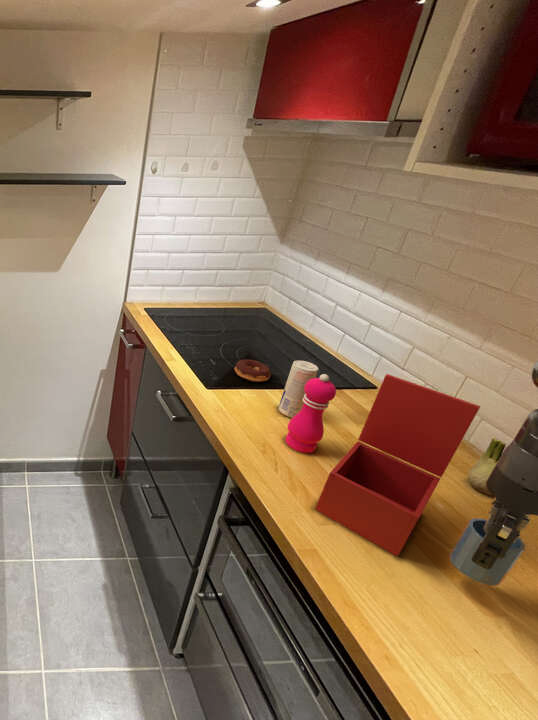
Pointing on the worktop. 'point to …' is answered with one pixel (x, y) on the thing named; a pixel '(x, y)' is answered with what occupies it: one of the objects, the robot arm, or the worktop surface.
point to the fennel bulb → (486, 466)
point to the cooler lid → (417, 424)
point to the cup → (468, 547)
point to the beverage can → (296, 387)
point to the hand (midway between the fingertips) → (484, 552)
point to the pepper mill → (310, 415)
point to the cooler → (376, 496)
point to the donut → (252, 370)
